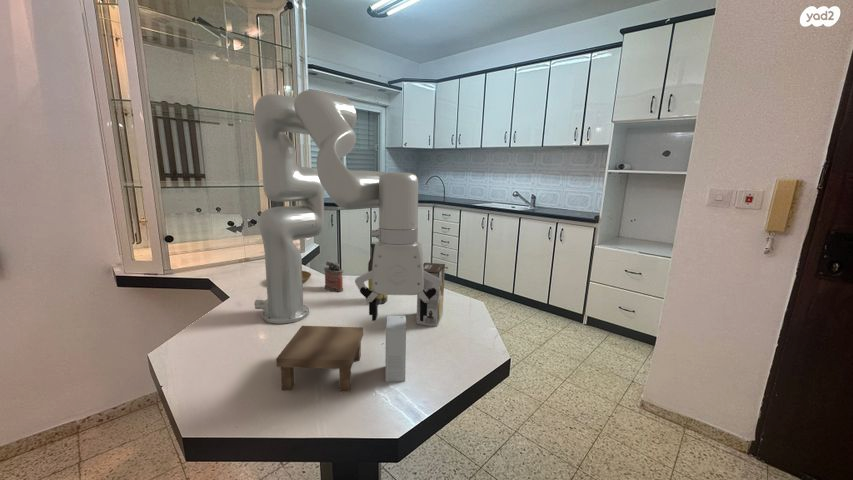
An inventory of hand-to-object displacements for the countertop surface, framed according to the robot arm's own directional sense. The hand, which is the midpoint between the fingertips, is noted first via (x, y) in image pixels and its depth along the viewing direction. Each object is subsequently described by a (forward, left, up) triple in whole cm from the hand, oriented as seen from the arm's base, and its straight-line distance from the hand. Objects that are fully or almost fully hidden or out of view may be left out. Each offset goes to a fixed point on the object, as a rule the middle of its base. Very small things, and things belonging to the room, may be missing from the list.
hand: (398, 318), depth 70 cm
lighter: (-26, +51, -13) cm, 59 cm away
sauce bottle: (-9, +41, -13) cm, 44 cm away
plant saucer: (-44, +58, -13) cm, 74 cm away
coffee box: (+8, +28, -13) cm, 32 cm away
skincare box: (0, 0, -13) cm, 13 cm away
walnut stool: (-15, 0, -13) cm, 20 cm away
